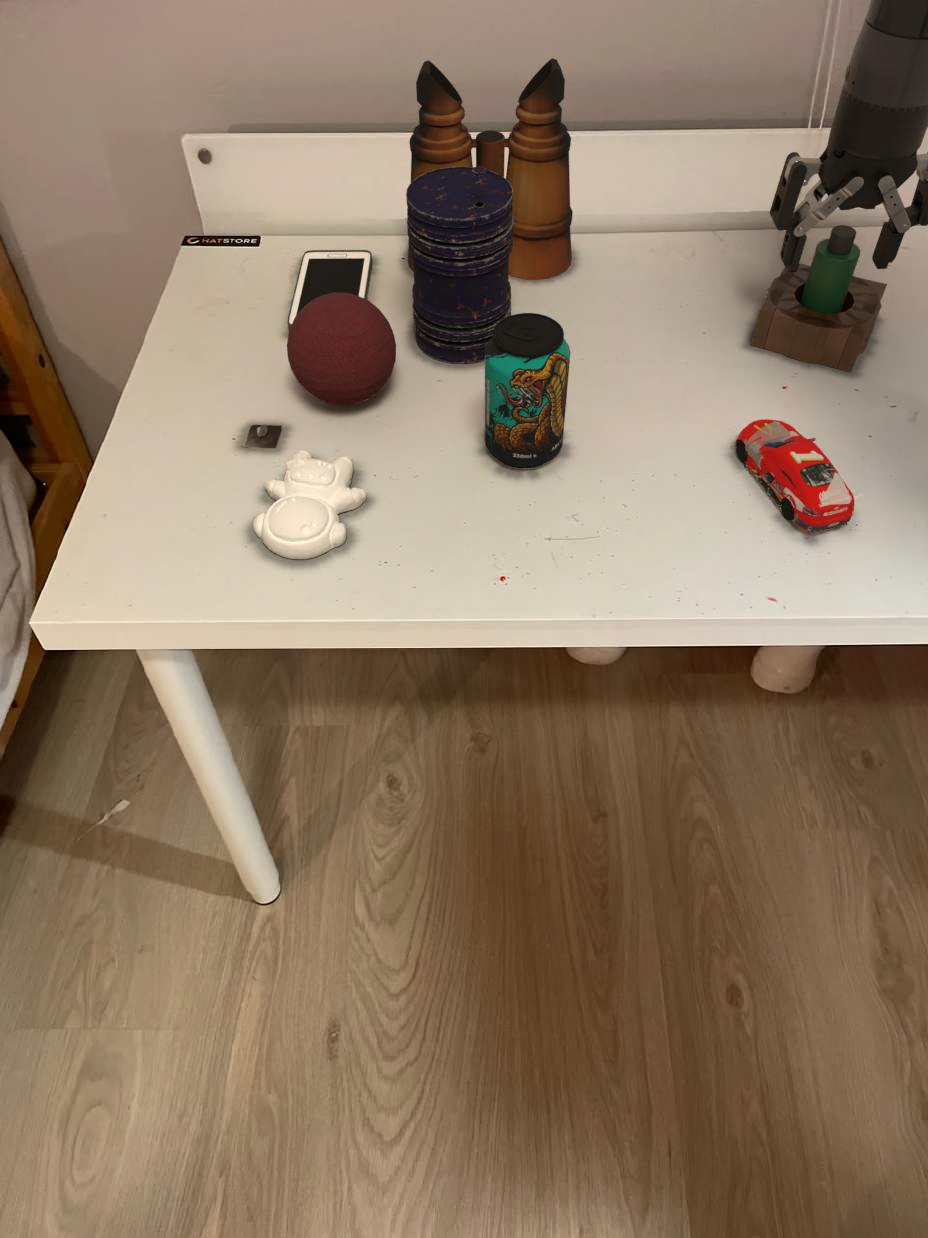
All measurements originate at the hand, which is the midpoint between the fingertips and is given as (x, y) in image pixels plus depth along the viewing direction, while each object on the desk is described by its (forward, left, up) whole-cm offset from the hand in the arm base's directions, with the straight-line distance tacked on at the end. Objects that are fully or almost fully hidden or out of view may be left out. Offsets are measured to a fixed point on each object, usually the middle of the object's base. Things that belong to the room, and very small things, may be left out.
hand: (834, 266), depth 89 cm
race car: (-4, +23, -8) cm, 25 cm away
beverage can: (+19, +29, -8) cm, 35 cm away
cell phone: (+48, +16, -7) cm, 51 cm away
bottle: (0, 0, -7) cm, 7 cm away
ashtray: (0, 0, -7) cm, 7 cm away
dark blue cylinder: (+32, +16, -8) cm, 37 cm away
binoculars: (+36, +2, -8) cm, 37 cm away
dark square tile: (+41, +39, -8) cm, 57 cm away
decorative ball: (+37, +30, -8) cm, 48 cm away
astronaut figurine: (+32, +44, -8) cm, 55 cm away
